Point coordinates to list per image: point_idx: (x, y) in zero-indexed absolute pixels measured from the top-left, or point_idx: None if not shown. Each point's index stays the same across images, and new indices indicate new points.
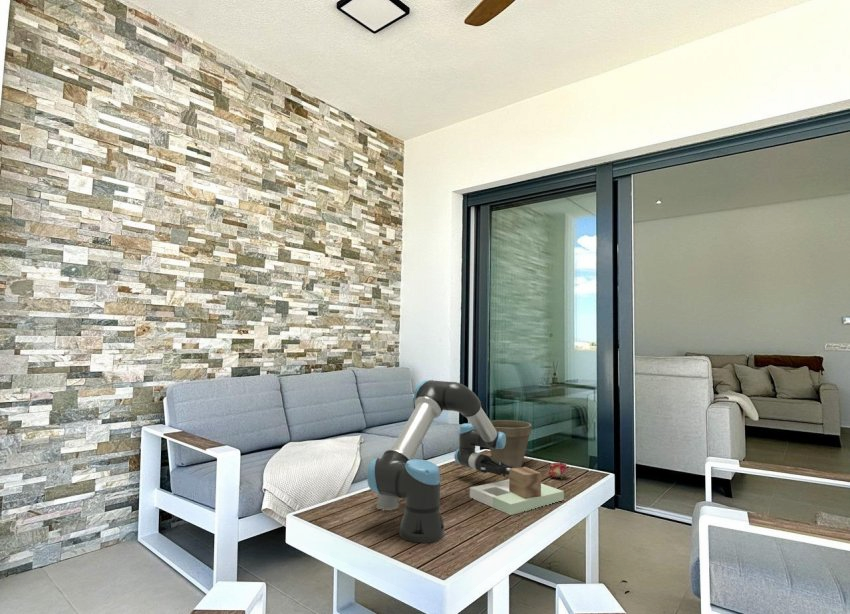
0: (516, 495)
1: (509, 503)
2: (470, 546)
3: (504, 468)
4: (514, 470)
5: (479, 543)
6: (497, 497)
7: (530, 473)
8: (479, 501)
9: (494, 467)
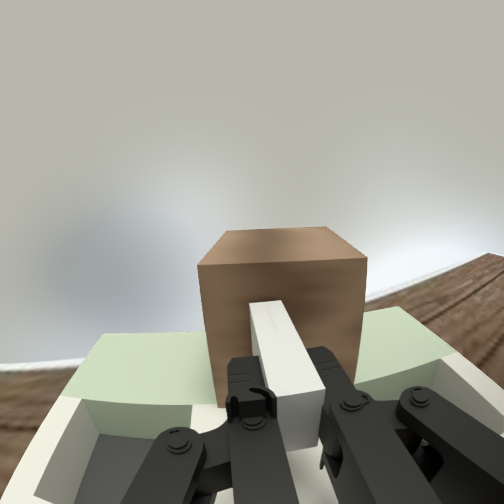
0: None
1: (401, 310)
2: (478, 274)
3: (350, 395)
4: (344, 245)
5: (468, 277)
6: (437, 346)
7: (281, 230)
8: None
9: (490, 451)
